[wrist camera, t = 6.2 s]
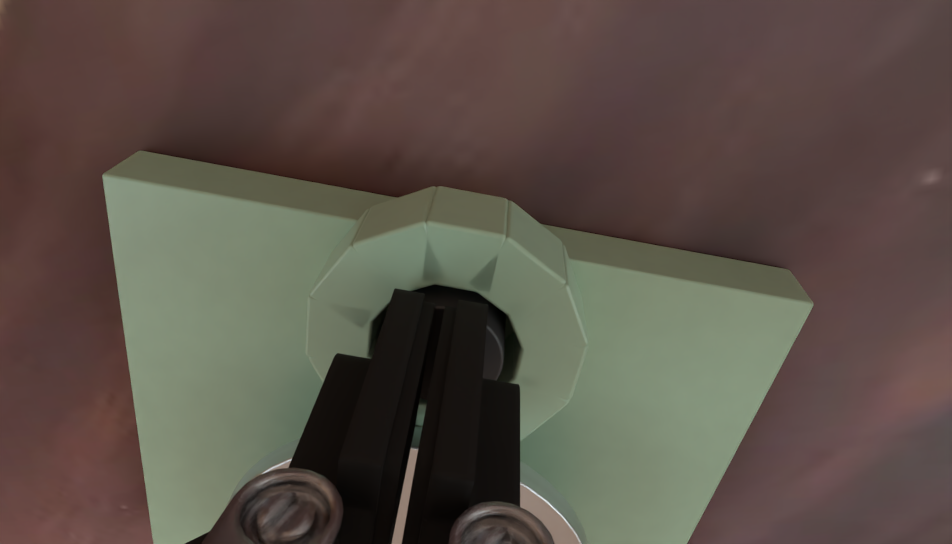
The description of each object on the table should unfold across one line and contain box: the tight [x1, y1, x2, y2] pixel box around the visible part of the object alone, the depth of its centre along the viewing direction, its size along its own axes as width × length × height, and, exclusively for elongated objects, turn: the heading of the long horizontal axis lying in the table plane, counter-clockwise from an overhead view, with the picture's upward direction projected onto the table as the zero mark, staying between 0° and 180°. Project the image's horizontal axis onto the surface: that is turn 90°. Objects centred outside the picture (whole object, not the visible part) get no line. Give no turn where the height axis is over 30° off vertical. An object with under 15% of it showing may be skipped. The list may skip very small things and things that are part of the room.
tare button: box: [413, 284, 506, 400], centre depth 12 cm, size 2×2×2 cm
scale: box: [102, 151, 813, 544], centre depth 15 cm, size 13×14×3 cm
